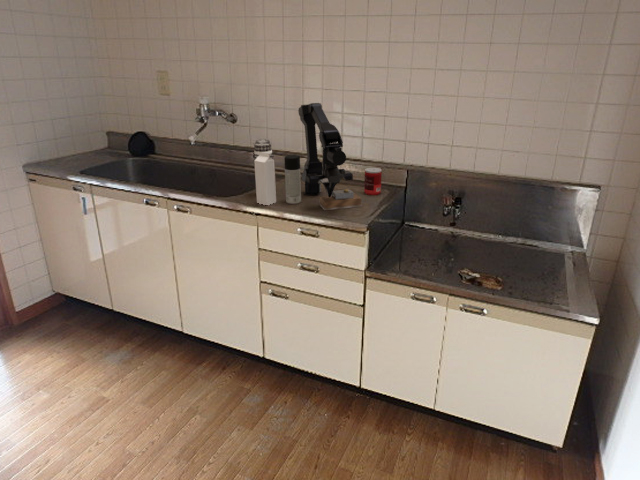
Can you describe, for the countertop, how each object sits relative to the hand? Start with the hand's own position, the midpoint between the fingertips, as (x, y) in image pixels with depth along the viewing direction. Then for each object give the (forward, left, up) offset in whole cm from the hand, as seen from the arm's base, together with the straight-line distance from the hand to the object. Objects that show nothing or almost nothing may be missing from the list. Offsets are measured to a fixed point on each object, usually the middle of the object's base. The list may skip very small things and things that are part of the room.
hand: (329, 196), depth 194 cm
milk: (-28, -1, -4) cm, 28 cm away
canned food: (+15, +23, -4) cm, 28 cm away
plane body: (+4, +2, -4) cm, 6 cm away
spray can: (-17, +3, -4) cm, 18 cm away
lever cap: (+5, +3, -1) cm, 6 cm away
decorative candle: (-32, +11, -4) cm, 35 cm away
